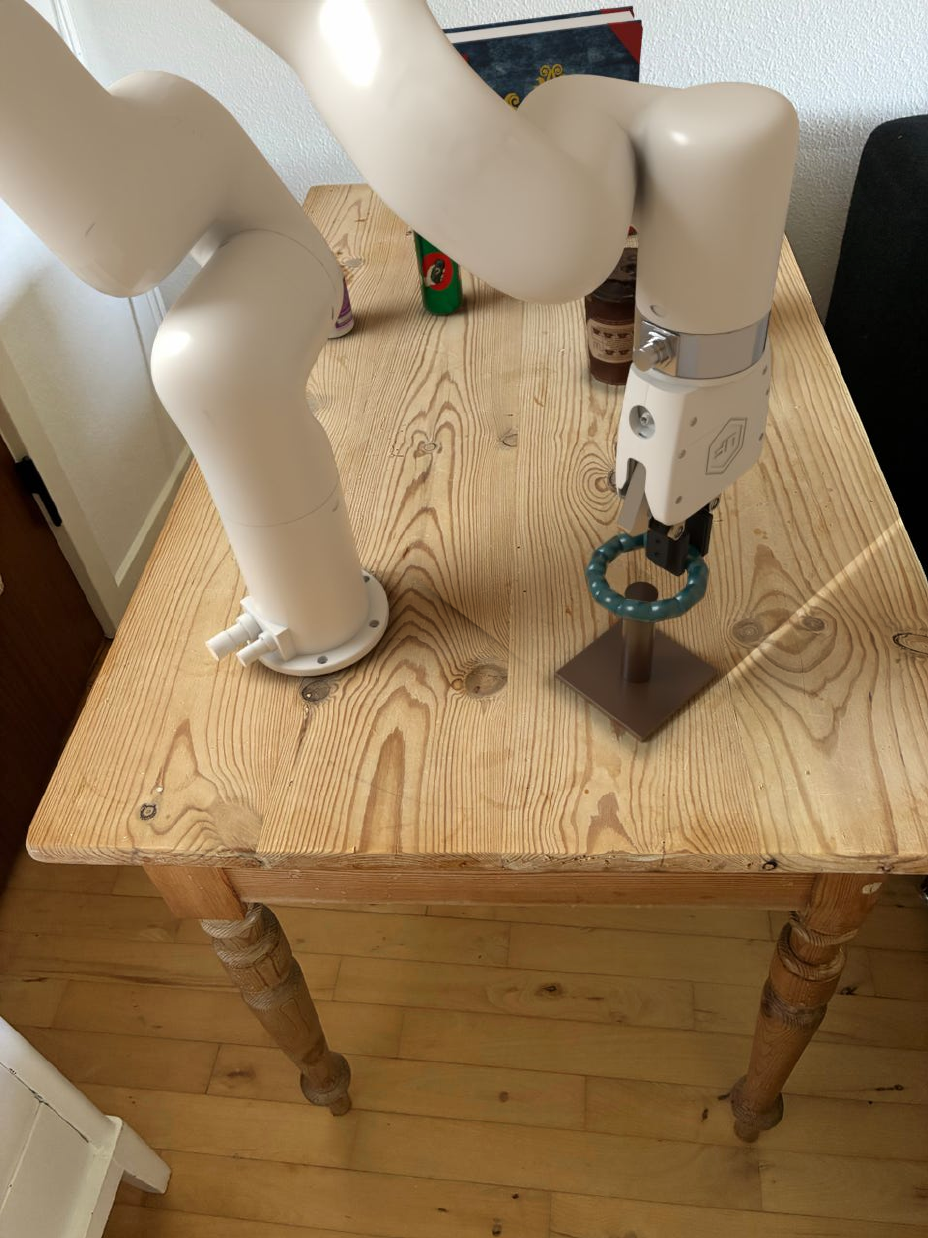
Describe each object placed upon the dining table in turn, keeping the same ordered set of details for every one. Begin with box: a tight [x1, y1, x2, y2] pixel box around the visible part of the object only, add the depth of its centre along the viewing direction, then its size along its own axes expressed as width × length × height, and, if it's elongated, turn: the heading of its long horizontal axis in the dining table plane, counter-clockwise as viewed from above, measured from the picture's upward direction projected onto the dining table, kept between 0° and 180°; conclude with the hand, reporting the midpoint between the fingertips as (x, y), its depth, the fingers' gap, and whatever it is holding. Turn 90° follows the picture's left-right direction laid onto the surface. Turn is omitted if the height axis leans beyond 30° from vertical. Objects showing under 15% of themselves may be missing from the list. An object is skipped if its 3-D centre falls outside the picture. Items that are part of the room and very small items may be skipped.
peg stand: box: [554, 581, 719, 743], centre depth 71 cm, size 9×9×10 cm
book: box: [441, 5, 644, 236], centre depth 116 cm, size 25×7×25 cm, turn 94°
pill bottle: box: [328, 246, 355, 339], centre depth 111 cm, size 5×5×10 cm
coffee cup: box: [583, 246, 638, 387], centre depth 98 cm, size 9×8×13 cm
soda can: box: [412, 229, 465, 317], centre depth 111 cm, size 5×5×12 cm
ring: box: [584, 532, 711, 623], centre depth 66 cm, size 8×8×1 cm
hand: (676, 555), depth 68 cm, fingers closed on ring, 1 cm apart
